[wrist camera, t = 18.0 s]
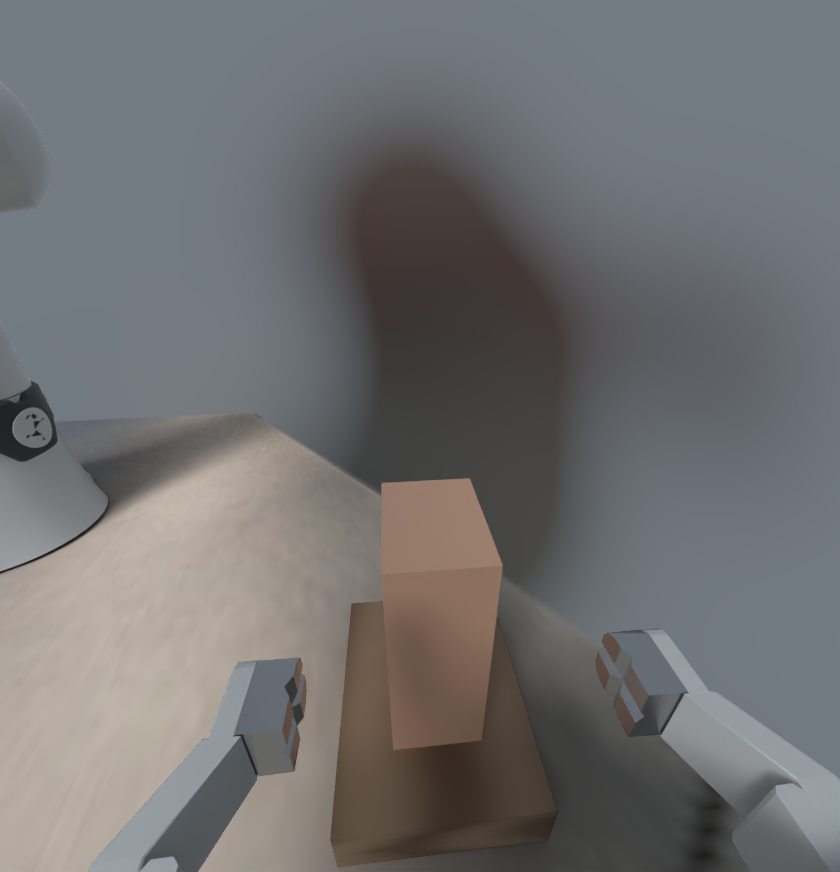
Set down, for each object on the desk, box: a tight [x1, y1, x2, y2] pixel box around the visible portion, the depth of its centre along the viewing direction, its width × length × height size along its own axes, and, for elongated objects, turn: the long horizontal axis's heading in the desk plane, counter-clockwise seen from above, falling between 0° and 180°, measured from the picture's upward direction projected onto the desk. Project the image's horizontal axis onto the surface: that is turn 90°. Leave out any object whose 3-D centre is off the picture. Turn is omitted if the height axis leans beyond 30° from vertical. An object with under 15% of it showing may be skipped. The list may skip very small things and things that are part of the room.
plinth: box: [330, 601, 558, 867], centre depth 22 cm, size 10×12×3 cm
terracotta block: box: [381, 479, 503, 750], centre depth 19 cm, size 4×6×12 cm
